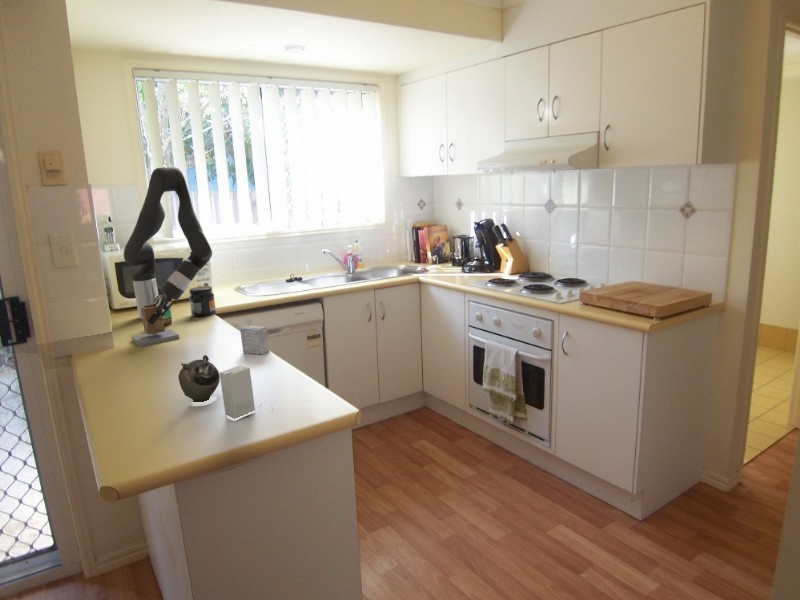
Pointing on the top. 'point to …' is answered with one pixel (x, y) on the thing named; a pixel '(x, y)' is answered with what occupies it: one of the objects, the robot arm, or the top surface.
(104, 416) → the top surface
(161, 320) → the walnut sleeve
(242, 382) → the skincare box
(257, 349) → the medicine box
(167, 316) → the food container
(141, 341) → the post base
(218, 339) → the top surface
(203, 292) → the supplement container
